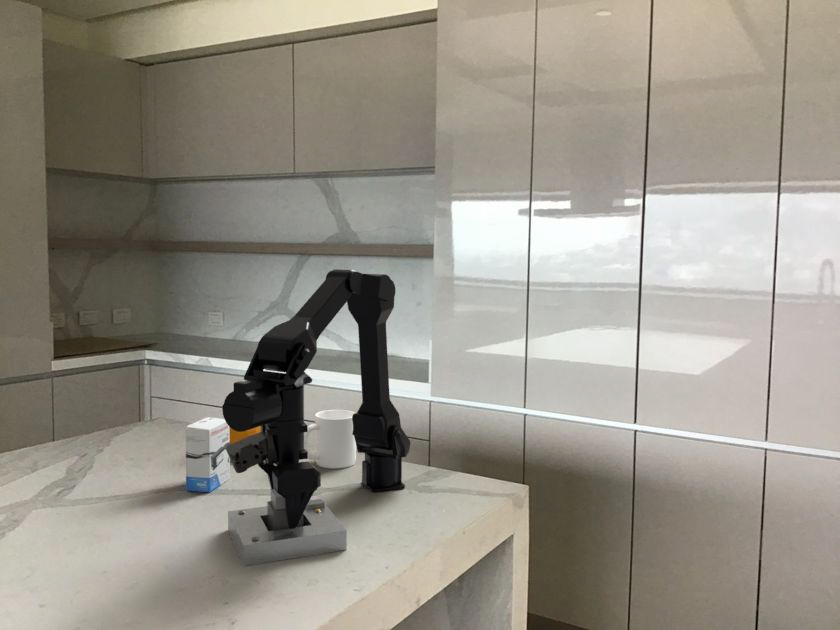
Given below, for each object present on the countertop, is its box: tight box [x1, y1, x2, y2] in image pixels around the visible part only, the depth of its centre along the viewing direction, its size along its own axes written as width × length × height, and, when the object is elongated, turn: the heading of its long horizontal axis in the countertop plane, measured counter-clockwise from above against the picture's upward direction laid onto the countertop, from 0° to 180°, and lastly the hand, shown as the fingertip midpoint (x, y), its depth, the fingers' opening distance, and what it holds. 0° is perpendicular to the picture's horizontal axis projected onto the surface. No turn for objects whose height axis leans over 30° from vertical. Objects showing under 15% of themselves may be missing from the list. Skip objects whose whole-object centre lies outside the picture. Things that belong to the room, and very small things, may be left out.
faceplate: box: [227, 498, 348, 567], centre depth 114 cm, size 15×14×4 cm
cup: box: [304, 409, 357, 470], centre depth 151 cm, size 8×12×10 cm
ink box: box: [184, 416, 231, 493], centre depth 138 cm, size 8×5×12 cm, turn 168°
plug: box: [266, 488, 303, 531], centre depth 113 cm, size 4×4×7 cm
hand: (285, 517), depth 114 cm, fingers open, 9 cm apart
